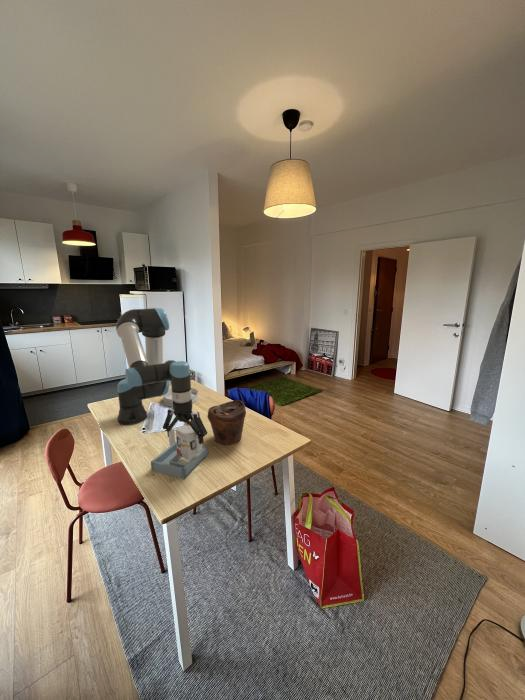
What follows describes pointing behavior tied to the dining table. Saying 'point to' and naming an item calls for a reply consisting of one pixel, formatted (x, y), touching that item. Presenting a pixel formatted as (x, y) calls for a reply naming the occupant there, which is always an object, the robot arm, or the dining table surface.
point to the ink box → (186, 442)
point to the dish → (169, 400)
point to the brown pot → (227, 421)
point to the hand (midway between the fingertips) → (185, 447)
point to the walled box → (177, 462)
